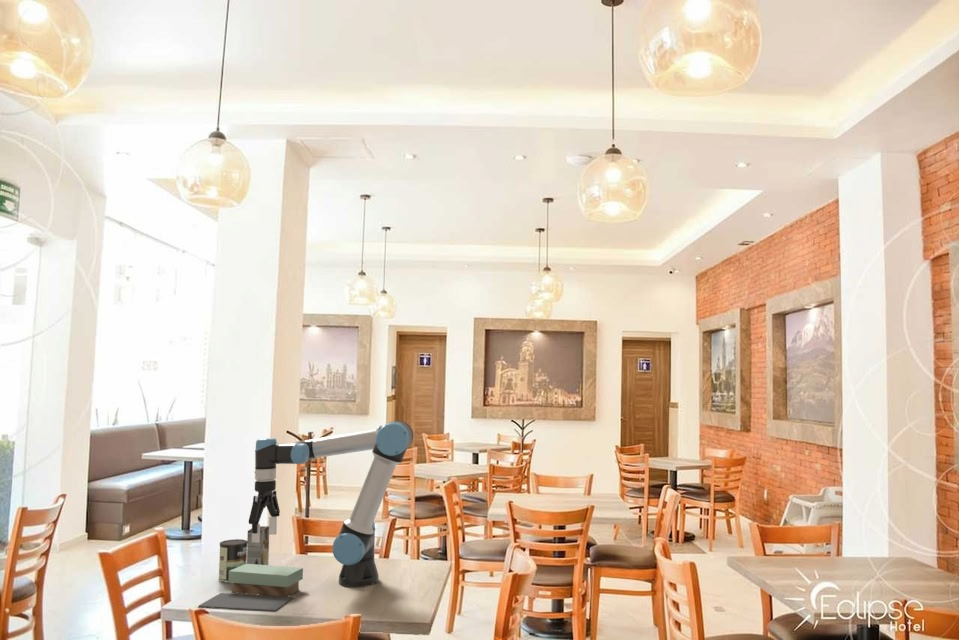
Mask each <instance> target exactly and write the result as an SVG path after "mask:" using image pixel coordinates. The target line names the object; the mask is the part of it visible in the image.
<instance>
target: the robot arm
mask: <svg viewBox="0 0 959 640" xmlns="http://www.w3.org/2000/svg"><path fill="white" fill-rule="evenodd" d="M414 438H415V436H414V430H413V429H412V426H411V425H410V424H409V423H407V422H405V421H403V420H397V421H396V420H395V421H391V422H388V423H385V424H383V425H378V426H377V427H376V428H375V429H374V428H373V429H367V430H362V431H356V432H349V433H342V434H337V435H331V436H323V437H318V438H313V439H303V440H299V441H296V442H292V443H279V442H277V439H276V438H274V437H264V438H263V437H262V438H258V439H256V441H255V451H254V460H255V461H254V462H255V464H254V466H255V467H254V479H255V481H254V491H255V492H257V493H258V494H257V495H253V496H252V497H253V499H252V505H251V509H250V514H249V517H248V518H249V519H248V524H249V525H251V529H252V542H255V543H259V542H260V526H261V523H260V520H261V518H262V514H263V512H264V509H265V508H266V509H267V511H268V513H269V516H268V526H269V535H277V526H278V525H277V524H278V523H277V522H278V521H277V519H278V517H280V513H281V510H280V506H279V503H278V498H277V490H276V487H277V481H276V478H277V465H282V464H283V465H288V464H289V465H300V464H301V465H302V464H303V465H304V464H306V463H308V461H309V460H313V459H317V458H318V459H319V458H324V457H325V458H326V457H330V456H338V455H339V456H340V455H344V454H351V453H357V452H358V453H359V452H363V451H371V450H372V451H371V452H372V455H373V459H372V462H371V465H370V467H369V469H368V472H367V475H366V476H365V479H364V482H363V485H362V488H361V490H360V492H359V494H358V497H357V500H356V502H355V505H354V508H353V509H352V513H350V517H349V518H347V519H345V520H344V521H343V523H342V526H341V528H340V531H339V534H338V535H337V537H335V539H334V541H333V544H332V555H333V557H334V559H335V560H336V561H337V562H338V563H340V564H341V565H342V566H341V569H340V572H339V576H338V584H339V585H341V586H344V587H351V588H352V587H353V588H359V587H360V588H361V586H362V587H368V585H369V586H373V585H375V584H377V583H378V582H379V581H378V580H379V578H380V577H379V572H378V569H377V565H376V563H375V537H376V536H375V535H376V534H375V533H376V525H375V519H376V516H377V514H378V512H379V509H380V507H381V504H382V502H383V499H384V497H385V494H386V492H387V488H388V486H389V484H390V481H391V478H392V477H393V474H394V471H395V469H396V466H398V465H400V464H401V463H402V462H403V460H404V456H405V454H406V452H407V450H408V448H409V447H410V446H411V445H412V444H413V441H414ZM376 582H377V583H376ZM372 584H373V585H372Z"/></svg>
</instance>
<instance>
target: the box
mask: <svg viewBox="0 0 959 640" xmlns="http://www.w3.org/2000/svg"><path fill="white" fill-rule="evenodd" d="M299 584H300V581H298V582H296V583H294V584H292V585H291V586H289V587H278V586H266V585H254V584H242V583H231V593H234V592H238V593H237V594H245V593H248V594H253V595H257V594H259V595H272V596H288V595H289V596H291V595H292V594H294V593H296V592H298V591H299V587H300V585H299ZM295 591H296V592H295Z"/></svg>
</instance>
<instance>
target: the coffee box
mask: <svg viewBox="0 0 959 640" xmlns="http://www.w3.org/2000/svg"><path fill="white" fill-rule="evenodd" d="M246 540H247V541H248V542H247V561H246V564H258V565H269V555H270V554H269V551H270V550H269V549H270V534H269V525H268V526H267V525H266V526H262V525H260V542H259V543H255V542H252V528H250V529H248V530H247V539H246Z"/></svg>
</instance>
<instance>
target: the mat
mask: <svg viewBox="0 0 959 640" xmlns="http://www.w3.org/2000/svg"><path fill="white" fill-rule="evenodd" d="M293 599H295V596H291V595H289V596H272V595H257V594H245V593H234V592H231V593H230V592H229V593H228V592H227V593H226V592H219V593H218V594H216V595H215V596H214V597H211V598H209V599H207V600H206V601H204V602H202V603H201V604H199V605H198V606H199V607H198V608H202V609H204V607H206V608H207V609H209V608H208V607H214V608H213V609H219V608H229V609H228V610H239V611H240V610H241V611H259V612H260V611H261V612H274V613H275V612H277V611H278V610H281V608H283V607H284V606H286V605H287V604H288V603H290V602H291V601H293ZM206 608H205V609H206Z"/></svg>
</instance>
